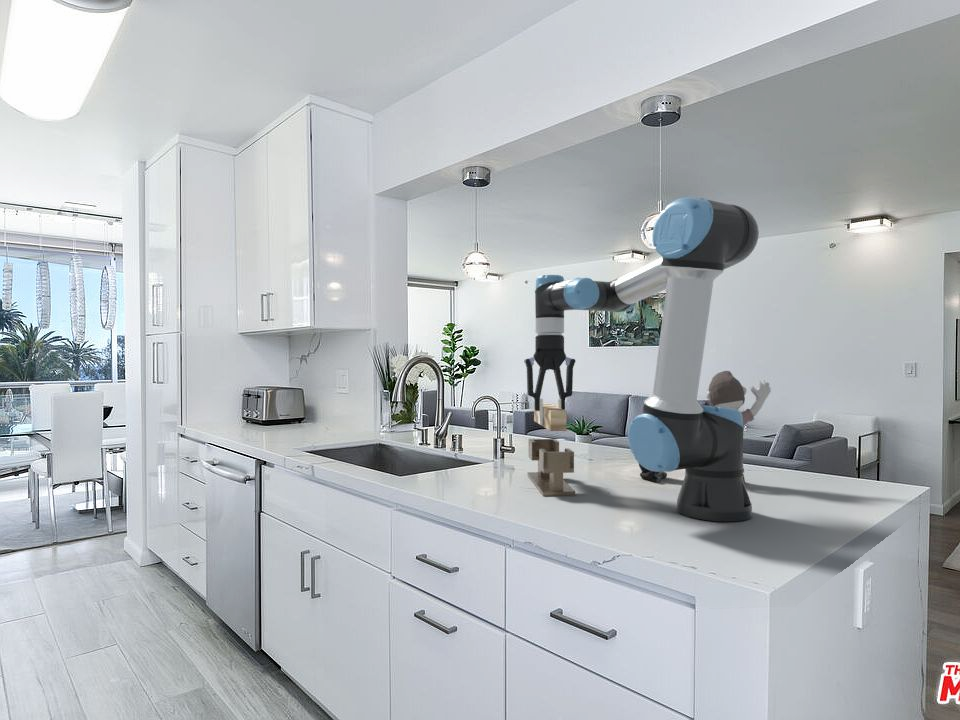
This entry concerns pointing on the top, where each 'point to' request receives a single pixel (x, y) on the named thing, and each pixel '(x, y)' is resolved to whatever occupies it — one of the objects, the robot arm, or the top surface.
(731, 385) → the figurine
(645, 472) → the figurine
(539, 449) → the bracket
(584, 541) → the top surface
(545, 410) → the rail
